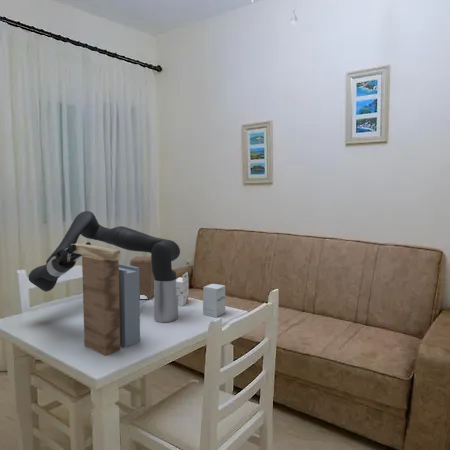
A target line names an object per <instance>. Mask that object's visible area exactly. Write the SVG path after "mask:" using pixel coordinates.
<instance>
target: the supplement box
mask: <svg viewBox="0 0 450 450" xmlns="http://www.w3.org/2000/svg"><path fill="white" fill-rule="evenodd" d="M202 288H203V290H202V294H203V295H202V315H203V316H209V317H212V318H218V317H220V316H222V315H223V314H226V285H224V284H217V283H210V284H207V285H205V286H203V287H202Z"/></svg>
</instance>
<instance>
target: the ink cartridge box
mask: <svg viewBox="0 0 450 450" xmlns="http://www.w3.org/2000/svg"><path fill="white" fill-rule="evenodd" d="M181 276H182V277H181ZM181 276H180V277H177V278H176V295H177V296H178V307H179V306H180V307H181V306H182V307H184V306H185V305H186V304H187V303H188V302H189V272H188V271H186V272H185V273H184V274H182V275H181Z"/></svg>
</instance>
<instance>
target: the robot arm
mask: <svg viewBox="0 0 450 450" xmlns="http://www.w3.org/2000/svg"><path fill="white" fill-rule="evenodd" d="M80 236H82V237H84V238H85V239H90V240H94V241H98V242H99V241H100V242H103V243H106V244H109V245H113V246H115V247H118V248H121V249H123V250H126V251H129V252H130V251H132V252H142V253H150V255H151V256H150V257H151V262H152V272H153V275H154V294H153V300H154V301H153V304H154V307H153V309H154V313H153V315H154V316H153V317H154V319H153V320H154V321H156V322H158V323H169V322H174V321H175V320H177V318H179V306H178V296H177V295H176V279H177V272H176V271H175V270H173V269H172V262H174V261H175V260H177V259H178V258H179V257H180V255H181V249H180V246H179V244H177V242H175V241H174V240H170V239H167V238H160V237H155V236H153V235H149V234H148V233H144V232H142V231H139V230H138V231H137V230H136V229H132V228H129V227H126V226H121V225H119V226H114V227H113V228H108V227H105V226H102V225H101V224H100V223H99V221H98V219H97V218H96V216H95V214H94V213H93V212H92V211H89V210H88V211H87V210H84V211H81V212H80V213H79V214H77V215H76V216H75V218H74V219H73V221H72V223H71V225H70V226H69V228H68V230H67V231H66V233H65V235H64V237H63V238H62V240H61V242H60V243H59V244H58V246H56V249H54V251H53V252H52V253H51V255H50V256H49V257H47V259H46V262H45V263H46V264H43V265H40V266H37V267H34V268H33V269H31V271H30V272H29V274H28V281H29V282H30V283H31V284H33V285H34V286H36V287H37V288H39V289H40V290H41V291H43V292H45V293H46V292H50V291H52V290H53V289H54V288H55V286H56V284H57V282H58V279H59V278H60V277H62V276H63V275H64V274H66V273H67V272H69V271H70V270H71V269H73V268H74V266H76V263H77V261H78V260H79V259H80V258H82V256H85V255H81V254H77V253H73V252H74V251H76V250H77V248H76V245H75V244H77V243H78V242H77V241H78V239H79V237H80ZM71 244H72V245H71ZM85 244H86V245H92V244H91V242H89V241H88V242H86V243H85Z"/></svg>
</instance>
